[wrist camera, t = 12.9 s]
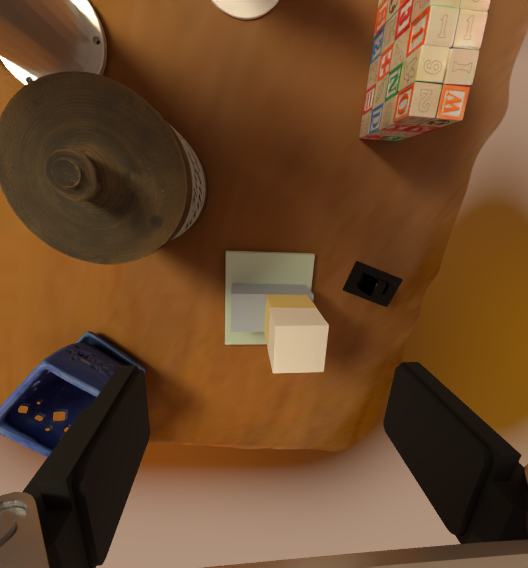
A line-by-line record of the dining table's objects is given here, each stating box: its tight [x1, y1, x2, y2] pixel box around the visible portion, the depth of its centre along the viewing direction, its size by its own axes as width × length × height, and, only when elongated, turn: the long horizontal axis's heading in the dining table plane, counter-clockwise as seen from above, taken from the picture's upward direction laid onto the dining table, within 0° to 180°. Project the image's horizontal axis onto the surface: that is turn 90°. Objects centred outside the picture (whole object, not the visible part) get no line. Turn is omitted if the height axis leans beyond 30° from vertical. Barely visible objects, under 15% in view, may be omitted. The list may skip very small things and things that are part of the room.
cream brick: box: [268, 308, 329, 373], centre depth 33 cm, size 6×6×5 cm
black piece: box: [343, 261, 402, 307], centre depth 45 cm, size 12×7×5 cm, turn 68°
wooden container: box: [0, 71, 208, 264], centre depth 28 cm, size 15×15×22 cm
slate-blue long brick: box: [231, 283, 314, 332], centre depth 42 cm, size 12×6×5 cm, turn 87°
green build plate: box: [225, 250, 315, 345], centre depth 45 cm, size 14×16×1 cm
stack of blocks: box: [359, 0, 490, 142], centre depth 31 cm, size 21×6×12 cm, turn 177°
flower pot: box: [0, 331, 146, 457], centre depth 41 cm, size 13×13×12 cm
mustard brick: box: [264, 294, 316, 348], centre depth 38 cm, size 6×6×5 cm
